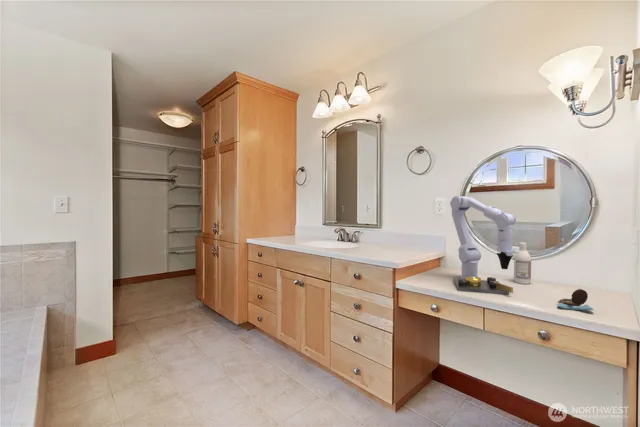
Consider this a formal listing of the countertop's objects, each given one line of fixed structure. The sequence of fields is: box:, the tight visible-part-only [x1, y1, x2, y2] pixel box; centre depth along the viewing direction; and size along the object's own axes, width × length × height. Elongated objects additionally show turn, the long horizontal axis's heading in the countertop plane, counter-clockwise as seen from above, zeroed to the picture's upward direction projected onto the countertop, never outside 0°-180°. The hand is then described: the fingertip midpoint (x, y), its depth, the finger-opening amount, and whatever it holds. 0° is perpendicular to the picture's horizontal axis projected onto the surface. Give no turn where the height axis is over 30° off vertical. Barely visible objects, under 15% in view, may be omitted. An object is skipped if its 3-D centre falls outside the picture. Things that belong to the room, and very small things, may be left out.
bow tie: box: [557, 302, 594, 311], centre depth 108 cm, size 10×2×5 cm
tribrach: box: [452, 276, 510, 296], centre depth 137 cm, size 17×20×5 cm
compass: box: [557, 288, 589, 307], centre depth 113 cm, size 8×8×7 cm
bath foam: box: [513, 242, 532, 285], centre depth 144 cm, size 7×7×20 cm
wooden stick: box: [489, 280, 514, 294], centre depth 129 cm, size 12×4×2 cm, turn 11°
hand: (504, 268), depth 134 cm, fingers closed
